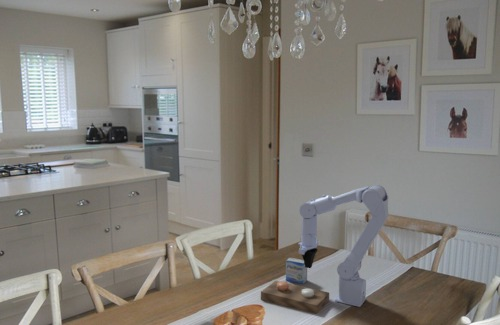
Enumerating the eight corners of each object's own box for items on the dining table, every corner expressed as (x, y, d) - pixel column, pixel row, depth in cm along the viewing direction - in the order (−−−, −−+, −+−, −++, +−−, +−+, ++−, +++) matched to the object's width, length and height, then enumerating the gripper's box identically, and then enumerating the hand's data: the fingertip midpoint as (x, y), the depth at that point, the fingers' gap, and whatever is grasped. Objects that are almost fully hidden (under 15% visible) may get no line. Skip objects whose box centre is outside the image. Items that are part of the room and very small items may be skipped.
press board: (329, 300, 160) (329, 292, 160) (317, 313, 150) (317, 305, 150) (275, 287, 171) (275, 280, 171) (260, 299, 161) (260, 291, 160)
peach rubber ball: (290, 293, 164) (290, 282, 163) (285, 297, 160) (285, 287, 159) (279, 290, 166) (280, 280, 165) (274, 294, 162) (274, 284, 162)
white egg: (315, 300, 159) (315, 290, 158) (310, 305, 155) (311, 294, 154) (304, 298, 161) (304, 287, 160) (299, 302, 157) (299, 292, 157)
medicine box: (285, 280, 178) (285, 260, 177) (289, 276, 182) (289, 256, 181) (303, 284, 175) (303, 263, 174) (307, 280, 179) (307, 260, 178)
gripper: (306, 226, 174) (306, 259, 176) (291, 236, 161) (290, 271, 163) (323, 229, 170) (322, 262, 172) (309, 239, 158) (308, 275, 160)
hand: (308, 267), depth 167 cm, fingers closed
